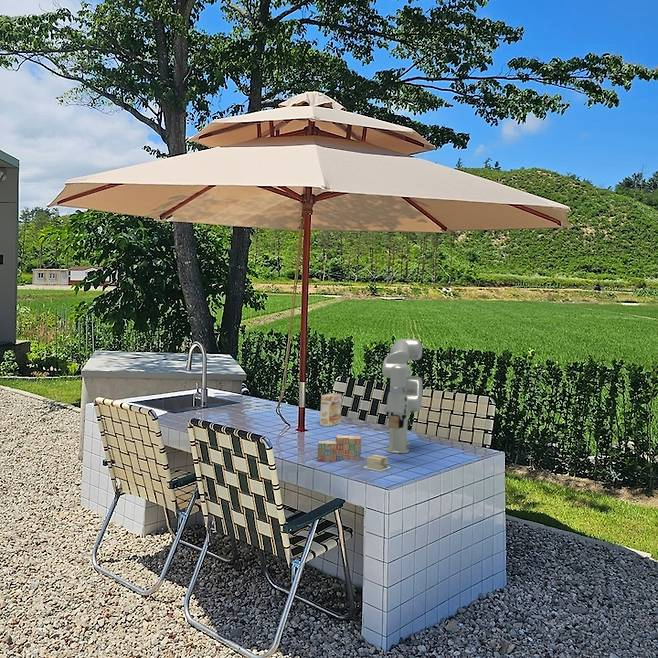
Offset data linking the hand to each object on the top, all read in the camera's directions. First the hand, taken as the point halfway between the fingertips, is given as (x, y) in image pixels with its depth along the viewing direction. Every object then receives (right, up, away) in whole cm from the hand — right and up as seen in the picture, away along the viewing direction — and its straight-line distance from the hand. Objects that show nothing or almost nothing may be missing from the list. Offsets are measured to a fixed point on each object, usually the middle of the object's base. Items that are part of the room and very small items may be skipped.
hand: (396, 426), depth 343 cm
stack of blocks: (-28, -18, +6) cm, 34 cm away
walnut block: (0, -1, 0) cm, 1 cm away
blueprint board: (-10, -20, -10) cm, 24 cm away
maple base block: (-10, -18, -10) cm, 23 cm away
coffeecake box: (-33, -13, +97) cm, 103 cm away
